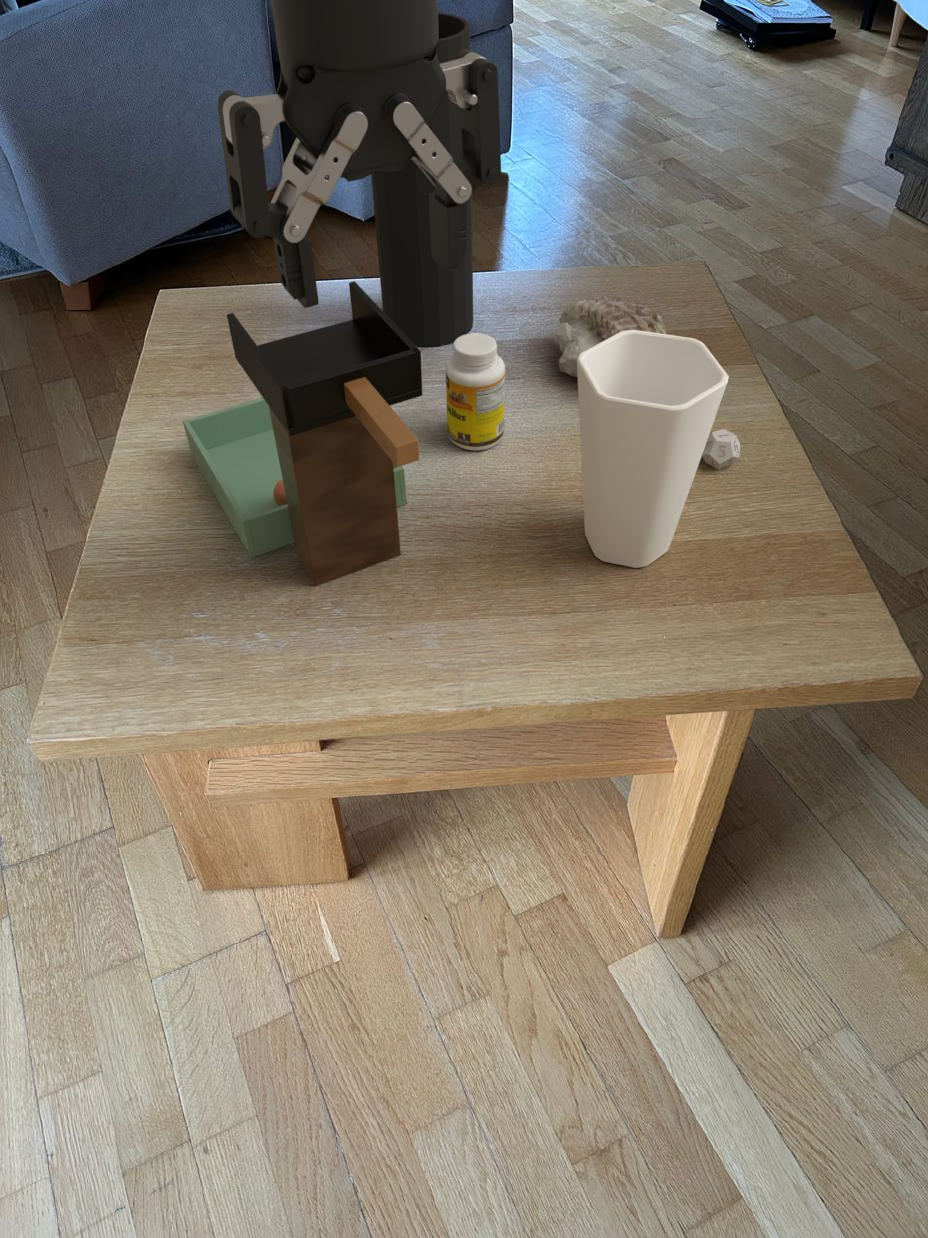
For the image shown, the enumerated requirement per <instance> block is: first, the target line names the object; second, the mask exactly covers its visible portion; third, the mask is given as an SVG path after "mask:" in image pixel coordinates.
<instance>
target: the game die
mask: <svg viewBox="0 0 928 1238" xmlns="http://www.w3.org/2000/svg"><path fill="white" fill-rule="evenodd" d="M740 453H741V442H740V440H739V439H738V437H737V435H736V434H735V433H733V432H731V431H729V430H727V429H725V428H721V429H718V430H714V431H710V434H709V437H708V439H707V442H706V445H705V448H704V451H703V454H702V456H701V458H702V459H703V460H704V462H705V464H707V465H709V466H711V467H713V468H714V469H716V470H720V469H722V468H726V467H729V466H731V465H732V464H733V463H735V462H736V461H737V460H738V459H739V458H740Z"/></svg>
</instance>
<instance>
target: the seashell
mask: <svg viewBox="0 0 928 1238" xmlns="http://www.w3.org/2000/svg"><path fill="white" fill-rule="evenodd" d="M627 330H639V331H646V332H653V333H660V334H667V330H666V326H665V323H664V314H663V313H662V312H661V313H659V314H656V313H654V311H652V309H651V308H650V307H649V306H643V305H642V304H641V303H640V302H638V301H636V302H633V301H631V300H630V299H628V298H626V300H625V301H624V300H623V299H621V297H619V296H617V295H615V299H613V300H611V299H609V298H607V297H606V296H602V297H600V298H598V297H597V296H594V297H592V298H590V299H588V300H587V299H585V298H584V299H582V300H578V301H575V302H573V303H571V304H569V305H567V306H566V308H565V309H564V310H563V311H562V313H561V315H560V318H559V324H558V329H557V332H555V333H553V339H554V344H555V346H557V347H558V348H559V351H561V352H562V355H561V356H560V357H559V359H558V366H559V371H560V372H562V373H566V374H567V375H568V376H571V377H572V378H578V373H577V359H578V357H579V354H580V353H582V352H584V351H586V350H588V349H590V348H592V347H593V346H595V345H597V344H599V343H601V342H603V341H605V340H607V339H608V338H610V337H612V336H614V335H616V334H618V333H620V332H622V331H627Z"/></svg>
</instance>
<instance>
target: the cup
mask: <svg viewBox="0 0 928 1238" xmlns="http://www.w3.org/2000/svg"><path fill="white" fill-rule="evenodd" d="M577 373H578V377H577V393H578V395H577V396H578V416H579V434H580V435H579V437H580V456H581V457H580V459H581V475H582V477H581V478H582V500H583V501H582V502H583V521H584V536H585V538H586V540H587V542H588V544H589V546H590V549H591V551H592V553H593V555H594V557H596V558H597V559H599V560H600V561H602V562H604V563H610V564H613V565H620V566H623V567H629V568H634V569H638V568H645V567H648V566H649V565H651V564H653V562H655V561H656V560H658V559H659V558H661V557H662V556H663V555H665V554H666V553H667V552H669V550H670V548H671V544H672V541H673V538H674V536H675V533H676V530H677V527H678V524H679V522H680V518H681V516H682V513H683V510H684V507H685V504H686V502H687V499H688V496H689V493H690V490H691V488H692V484H693V482H694V479H695V476H696V473H697V472H698V468H699V465H700V463H701V459H702V454H703V451H704V448H705V445H706V442H707V439H708V437H709V434H710V433H711V432H712V428H713V426H714V422H715V419H716V416H717V414H718V411H719V408H720V405H721V402H722V400H723V396H724V394H725V391H726V388H727V385H728V382H729V378H730V376H729V374H728V373H727V372H726V371H725V369H724V368H723V366H722V365H721V364H720V363H719V361H718V360H717V359H716V358H715V356H714V355H713V354H712V352H711V351H710V350H709V348H708V347H707V345H705V343H704V342H702V341H700V340H698V339H697V338H693V337H687V336H680V335H674V334H673V335H672V334H667V333H666V334H660V333H653V332H646V331H639V330H627V331H622V332H620V333H618V334H616V335H614V336H612V337H610V338H608V339H607V340H605V341H603V342H601V343H599V344H597V345H595V346H593V347H592V348H590V349H588V350H586V351H584V352H582V353H580V354H579V357H578V359H577Z"/></svg>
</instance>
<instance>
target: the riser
mask: <svg viewBox="0 0 928 1238" xmlns="http://www.w3.org/2000/svg"><path fill="white" fill-rule="evenodd" d="M269 410H270V416H271V421H272V426H273V431H274V437H275V442H276V447H277V452H278V458H279V463H280V468H281V473H282V479H283V484H284V489H285V494H286V500H287V505H288V510H289V515H290V521H291V526H292V531H293V536H294V542H295V543H294V546H295V552H296V556H297V560H298V561H299V563H300V564H301V566H302V568H303V570H304V571H305V572H306V574H307V576H308V577H309V579H310V581H311V582H312V583H313V585H314V586H315V587H316V586H319V585H322V584H325V583H328V582H329V581H330V582H331V581H333V580H336V579H340V578H341V577H344V576H346V575H349V574H353V573H355V572H358V571H360V570H363V569H365V568H368V567H371V566H374V565H376V564H379V563H382V562H385V561H387V560H390V559H393V558H395V557H398V556H401V555H402V552H401V540H400V538H401V537H400V531H399V529H400V528H399V517H398V507H397V503H396V492H395V480H394V468H393V462H392V460H391V459H390V458H389V457H388V455H387V454H386V453H385V452H384V450H383V449H382V448H381V447H380V445H379V444H378V443H377V441H376V440H375V439H374V438H373V436H372V435H371V434H370V433H369V431H368V430H367V429H366V428H365V426H364V425H363V424H362V423H361V421H360V420H359V419H358V418H357V416H355V417H351V418H348V419H345V420H342V421H339V422H335V423H332V424H329V425H326V426H322V427H319V428H316V429H313V430H310V431H306V432H303V433H300V434H297V435H293V436H289V434H288V433H287V431H286V430H285V429H284V427H283V426H282V424H281V423H280V421H279V420H278V418H277V417H276V416H275V414H274V413H273V411H272V410H271V408H270V407H269Z"/></svg>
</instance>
